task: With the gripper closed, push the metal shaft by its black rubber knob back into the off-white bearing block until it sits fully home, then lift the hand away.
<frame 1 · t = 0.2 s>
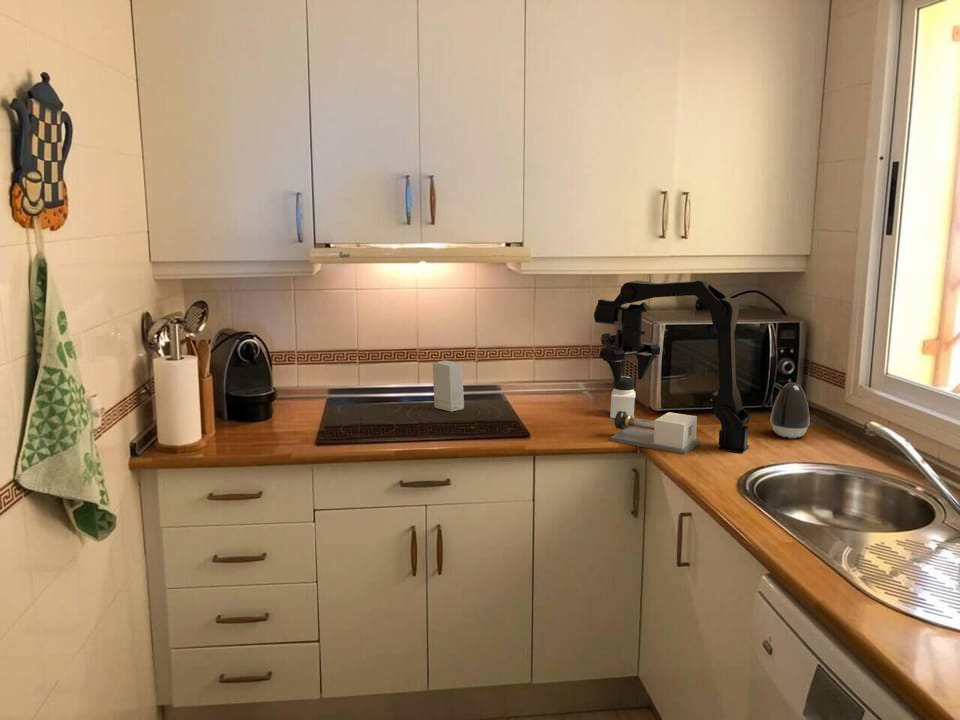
hand: (628, 381, 225), 15 cm above the worktop, tool pointing down, fingers open, 9 cm apart
dark grey egg shape: (788, 436, 225), on the worktop
metal shaft: (644, 424, 219), point 5 cm above the worktop, slide at 6.0 cm
bearing block: (667, 444, 216), on the worktop
medicine bottle: (622, 416, 245), on the worktop
skincare box: (448, 409, 253), on the worktop
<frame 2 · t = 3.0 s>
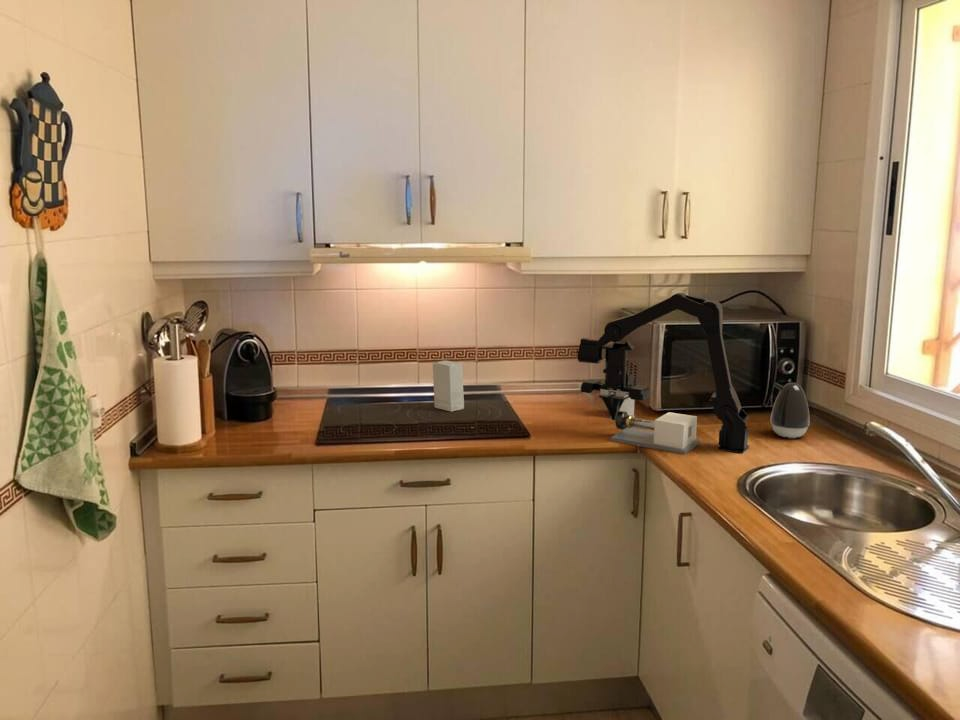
hand: (614, 419, 224), 4 cm above the worktop, tool pointing down, fingers closed
metal shaft: (645, 424, 219), point 4 cm above the worktop, slide at 5.7 cm, touching gripper
everything else where it was.
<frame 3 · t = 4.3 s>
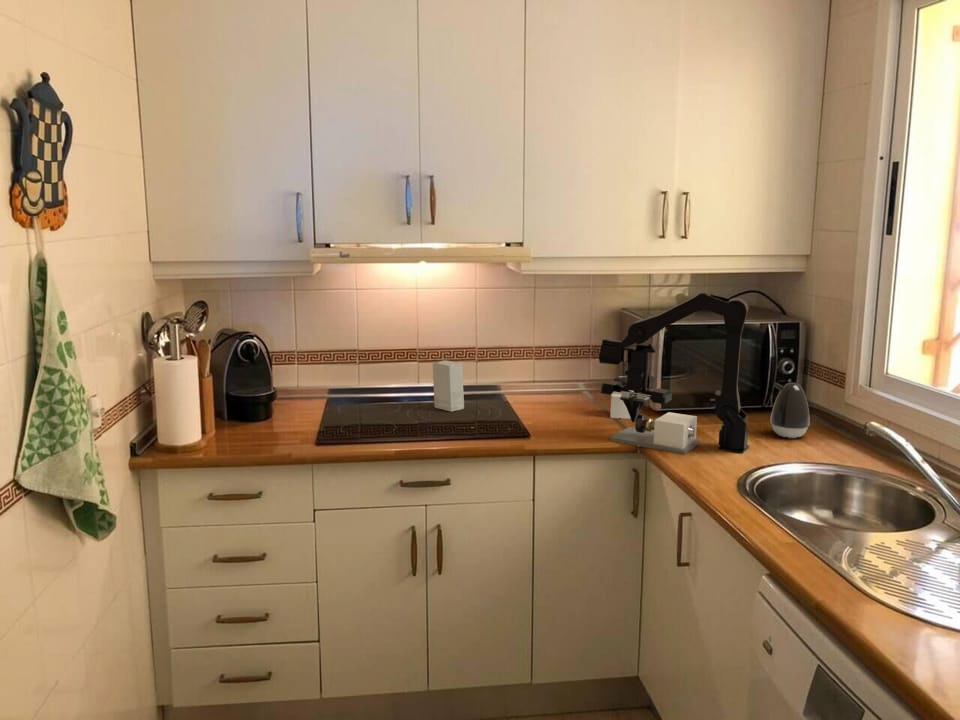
hand: (633, 422, 221), 5 cm above the worktop, tool pointing down, fingers closed
metal shaft: (665, 427, 216), point 4 cm above the worktop, slide at -0.1 cm, touching gripper
everything else where it was.
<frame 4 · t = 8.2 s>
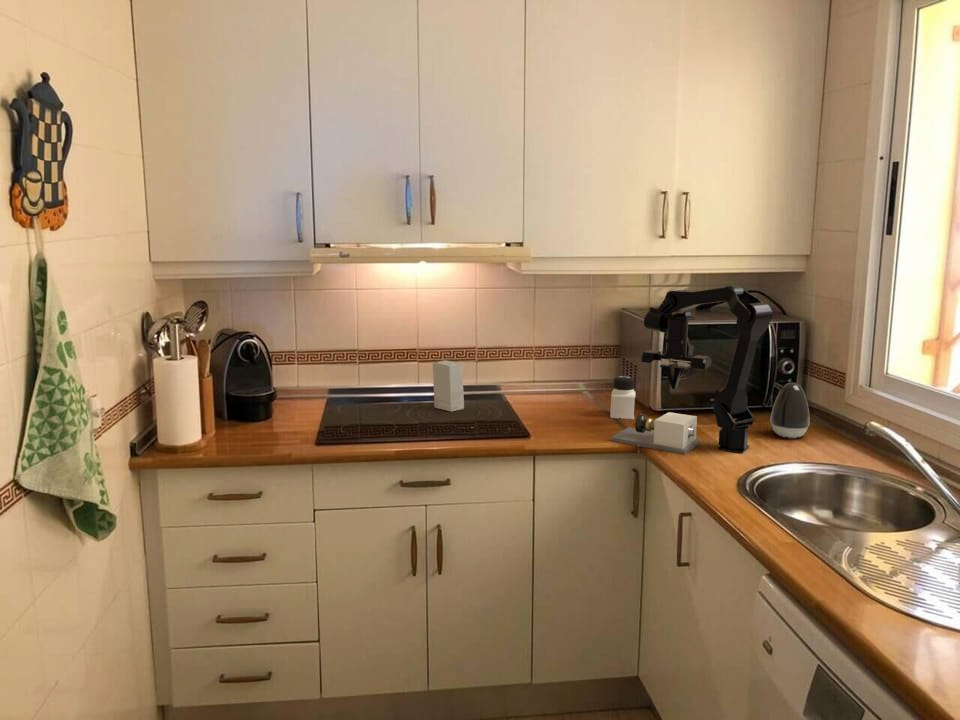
hand: (674, 389, 228), 12 cm above the worktop, tool pointing down, fingers closed
metal shaft: (665, 427, 216), point 5 cm above the worktop, slide at 0.0 cm
everything else where it was.
at the end: metal shaft slide at 0.0 cm; medicine bottle moved 0.2 cm from its start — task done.
